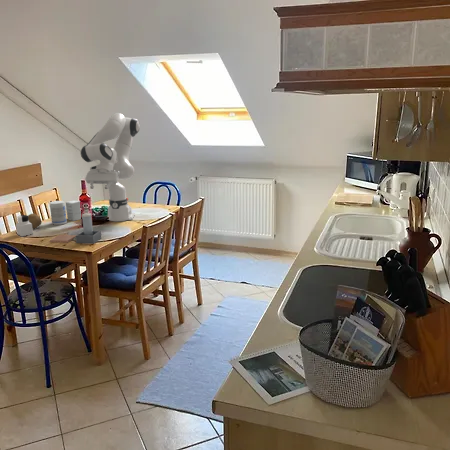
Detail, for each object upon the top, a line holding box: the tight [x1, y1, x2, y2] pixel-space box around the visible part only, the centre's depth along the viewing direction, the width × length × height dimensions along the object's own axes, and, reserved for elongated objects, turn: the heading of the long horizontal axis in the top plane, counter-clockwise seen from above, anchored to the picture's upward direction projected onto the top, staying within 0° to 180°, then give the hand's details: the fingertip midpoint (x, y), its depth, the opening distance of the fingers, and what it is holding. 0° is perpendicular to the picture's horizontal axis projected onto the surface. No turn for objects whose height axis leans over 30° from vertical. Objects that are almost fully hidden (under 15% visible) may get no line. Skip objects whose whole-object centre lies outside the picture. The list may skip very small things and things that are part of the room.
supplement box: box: [65, 200, 82, 222], centre depth 304 cm, size 7×7×13 cm
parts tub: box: [75, 230, 102, 245], centre depth 257 cm, size 11×11×4 cm
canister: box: [81, 212, 94, 236], centre depth 255 cm, size 5×5×16 cm
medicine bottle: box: [15, 214, 34, 237], centre depth 269 cm, size 7×7×12 cm
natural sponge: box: [27, 213, 42, 230], centre depth 282 cm, size 9×9×10 cm
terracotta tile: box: [49, 234, 77, 243], centre depth 260 cm, size 11×11×1 cm
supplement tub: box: [49, 200, 68, 226], centre depth 293 cm, size 10×10×15 cm
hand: (98, 188), depth 266 cm, fingers open, 8 cm apart
